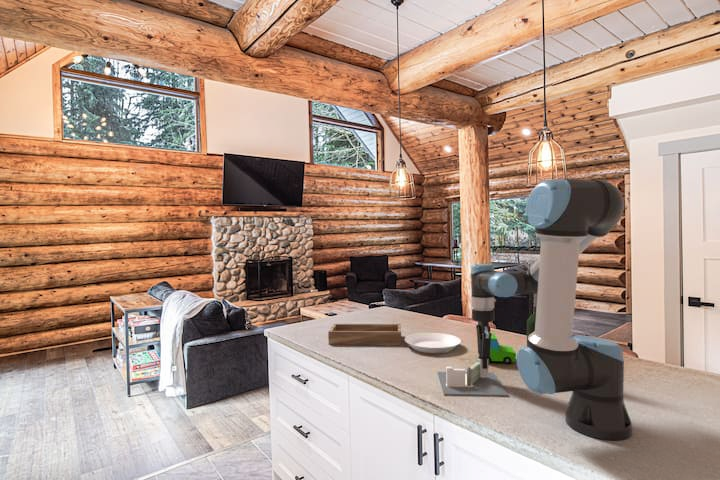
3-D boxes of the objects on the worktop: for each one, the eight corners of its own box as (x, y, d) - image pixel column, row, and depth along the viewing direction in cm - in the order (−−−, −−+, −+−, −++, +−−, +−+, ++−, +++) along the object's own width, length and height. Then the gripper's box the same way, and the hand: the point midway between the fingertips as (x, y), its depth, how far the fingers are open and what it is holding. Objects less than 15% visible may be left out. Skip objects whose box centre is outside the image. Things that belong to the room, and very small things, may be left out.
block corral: (401, 344, 184) (401, 332, 184) (328, 344, 187) (328, 331, 187) (401, 335, 200) (400, 324, 200) (333, 335, 203) (333, 323, 203)
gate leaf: (472, 383, 134) (472, 366, 134) (468, 382, 135) (467, 365, 135) (483, 375, 142) (483, 358, 142) (478, 374, 143) (478, 358, 143)
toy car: (517, 365, 153) (516, 340, 153) (481, 364, 156) (480, 338, 156) (512, 357, 163) (512, 333, 163) (478, 356, 166) (478, 332, 166)
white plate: (401, 354, 171) (401, 346, 171) (408, 339, 195) (408, 331, 195) (461, 357, 165) (461, 349, 165) (460, 341, 189) (460, 333, 189)
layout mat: (508, 396, 125) (508, 394, 125) (444, 395, 127) (444, 393, 127) (493, 373, 145) (493, 372, 145) (437, 373, 147) (437, 371, 147)
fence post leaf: (471, 388, 132) (471, 368, 132) (447, 387, 133) (446, 368, 133) (470, 386, 134) (470, 366, 134) (446, 385, 135) (446, 366, 135)
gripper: (498, 312, 131) (500, 383, 131) (489, 305, 144) (490, 371, 144) (475, 312, 132) (476, 383, 132) (468, 305, 145) (469, 370, 145)
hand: (484, 376), depth 138 cm, fingers closed
